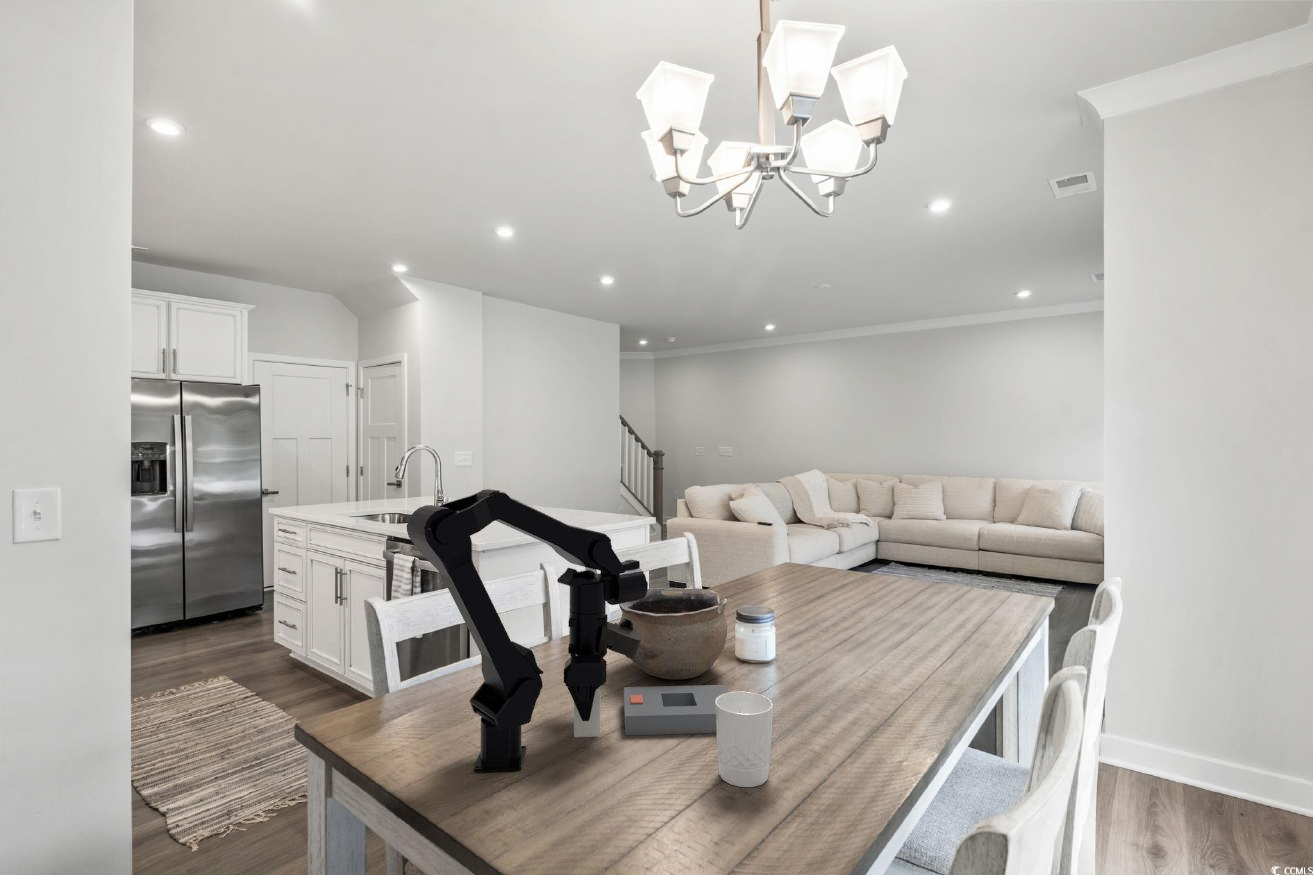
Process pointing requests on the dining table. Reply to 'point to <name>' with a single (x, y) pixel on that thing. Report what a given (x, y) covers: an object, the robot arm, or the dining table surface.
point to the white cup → (743, 737)
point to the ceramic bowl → (677, 631)
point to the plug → (591, 726)
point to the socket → (671, 709)
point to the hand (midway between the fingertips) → (586, 708)
